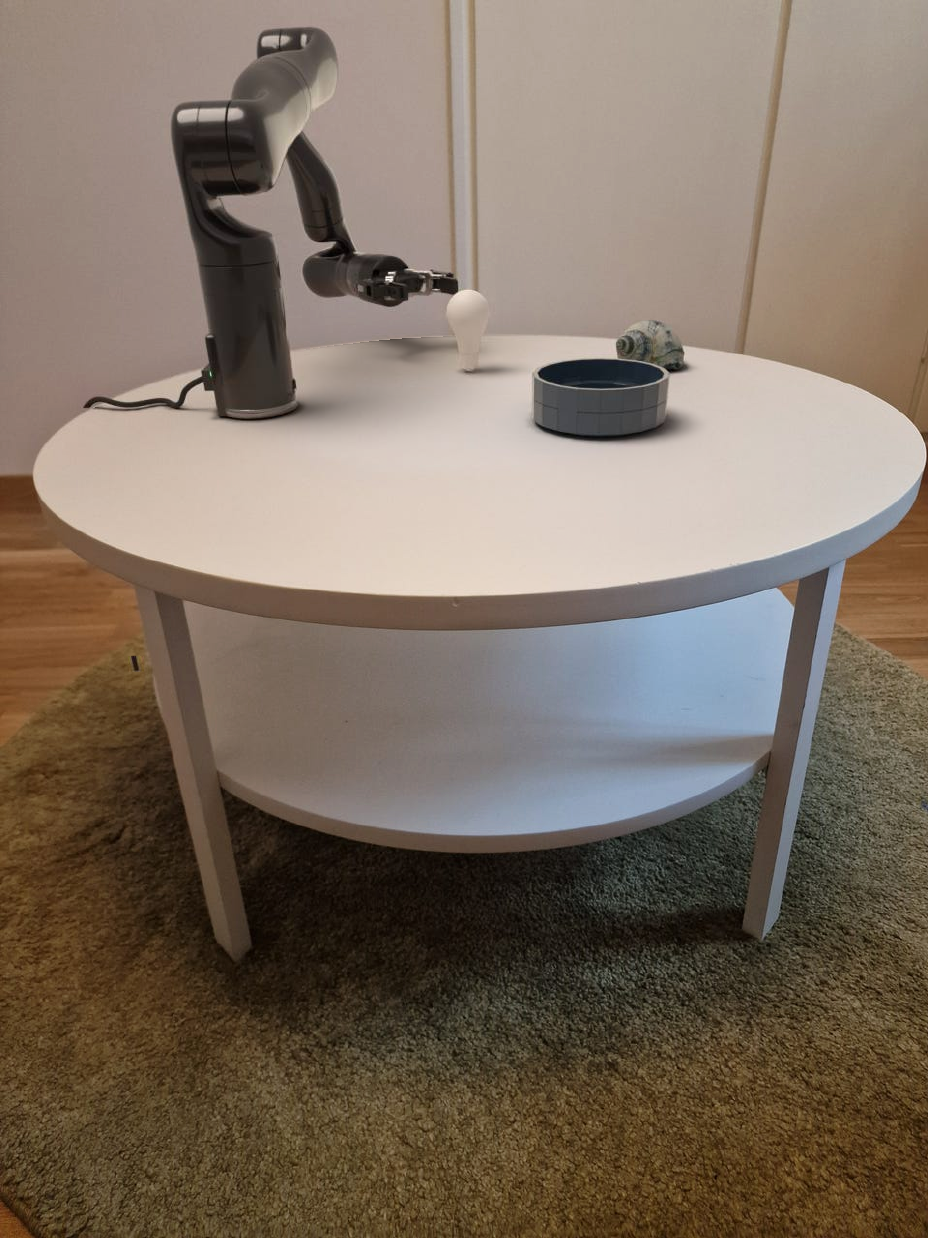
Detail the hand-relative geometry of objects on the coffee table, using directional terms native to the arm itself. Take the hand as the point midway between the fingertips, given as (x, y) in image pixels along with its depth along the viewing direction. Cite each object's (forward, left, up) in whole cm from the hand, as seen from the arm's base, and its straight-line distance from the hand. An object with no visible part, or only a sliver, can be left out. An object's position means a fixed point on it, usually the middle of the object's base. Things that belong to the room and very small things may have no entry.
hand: (431, 289), depth 124 cm
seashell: (+30, -10, -10) cm, 33 cm away
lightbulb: (+5, -8, -10) cm, 14 cm away
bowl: (+19, -35, -10) cm, 41 cm away
